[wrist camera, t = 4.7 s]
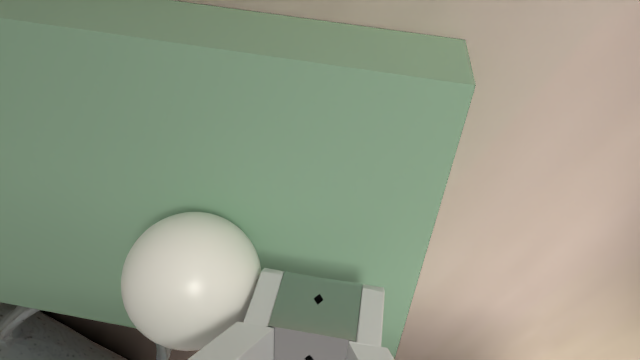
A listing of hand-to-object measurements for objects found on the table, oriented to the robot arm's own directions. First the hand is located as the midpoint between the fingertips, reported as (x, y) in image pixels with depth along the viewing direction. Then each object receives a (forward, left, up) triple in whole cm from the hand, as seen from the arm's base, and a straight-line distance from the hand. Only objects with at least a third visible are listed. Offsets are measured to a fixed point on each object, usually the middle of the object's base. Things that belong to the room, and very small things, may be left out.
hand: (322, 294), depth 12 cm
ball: (0, -2, +1) cm, 2 cm away
